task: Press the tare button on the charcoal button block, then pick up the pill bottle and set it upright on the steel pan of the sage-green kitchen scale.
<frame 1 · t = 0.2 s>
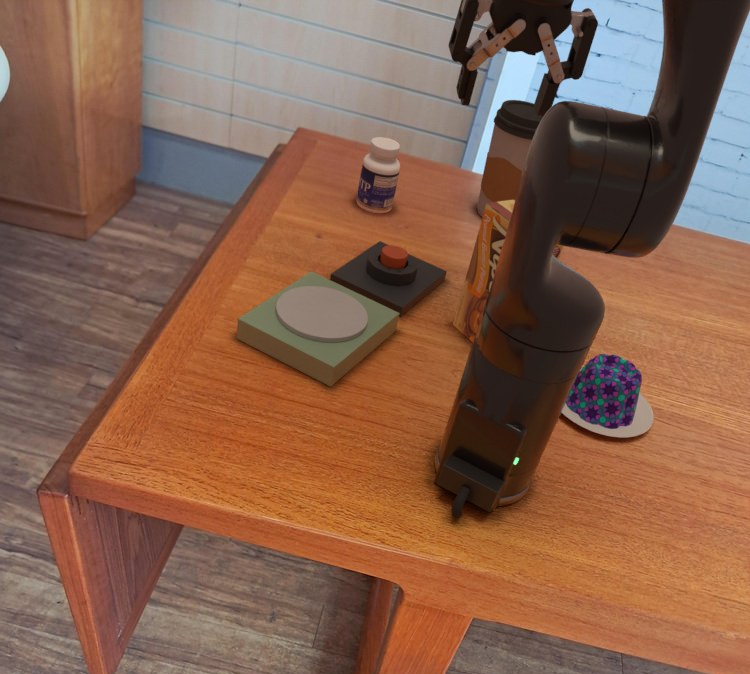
hand: (501, 107, 86), 21 cm above the table, tool pointing down, fingers open, 8 cm apart
pill bottle: (373, 207, 112), on the table
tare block: (388, 282, 97), on the table
scale: (318, 335, 86), on the table
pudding: (597, 407, 87), on the table
coffee cup: (496, 216, 117), on the table
tare button: (393, 257, 95), point 3 cm above the table, slide at 0.1 cm
candy box: (485, 344, 92), on the table
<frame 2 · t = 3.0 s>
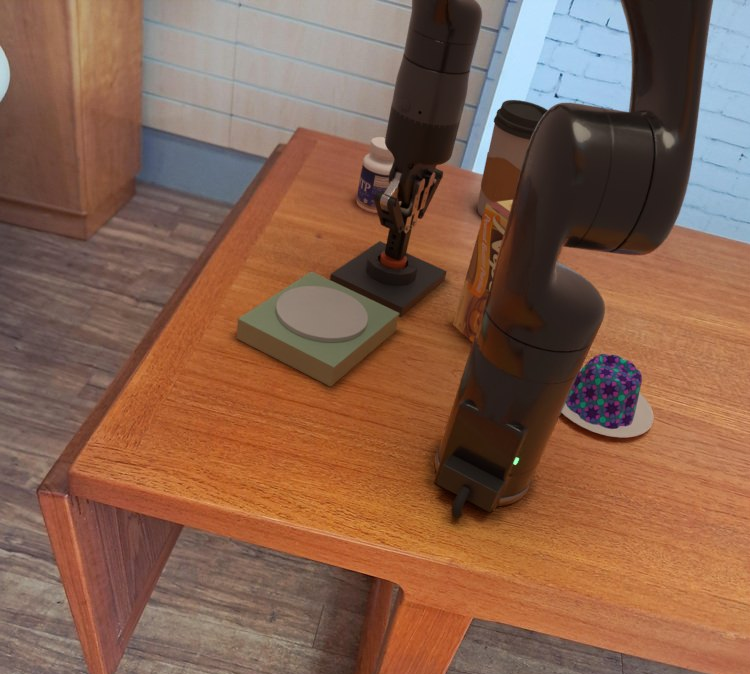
hand: (394, 255, 95), 4 cm above the table, tool pointing down, fingers closed
tare button: (392, 262, 95), point 3 cm above the table, slide at -0.5 cm, touching gripper
everything else where it was.
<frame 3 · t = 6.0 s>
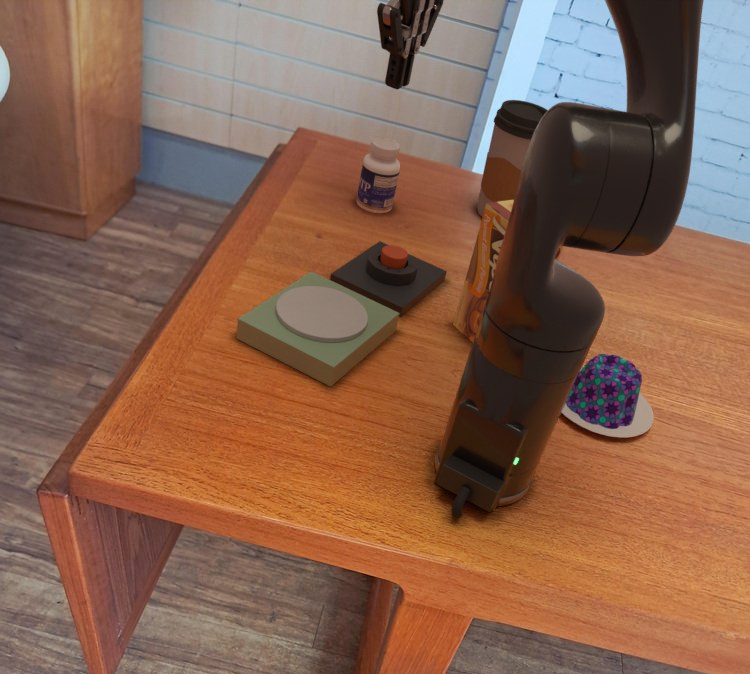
hand: (396, 85, 100), 16 cm above the table, tool pointing down, fingers closed
tare button: (393, 257, 95), point 3 cm above the table, slide at 0.1 cm
everything else where it was.
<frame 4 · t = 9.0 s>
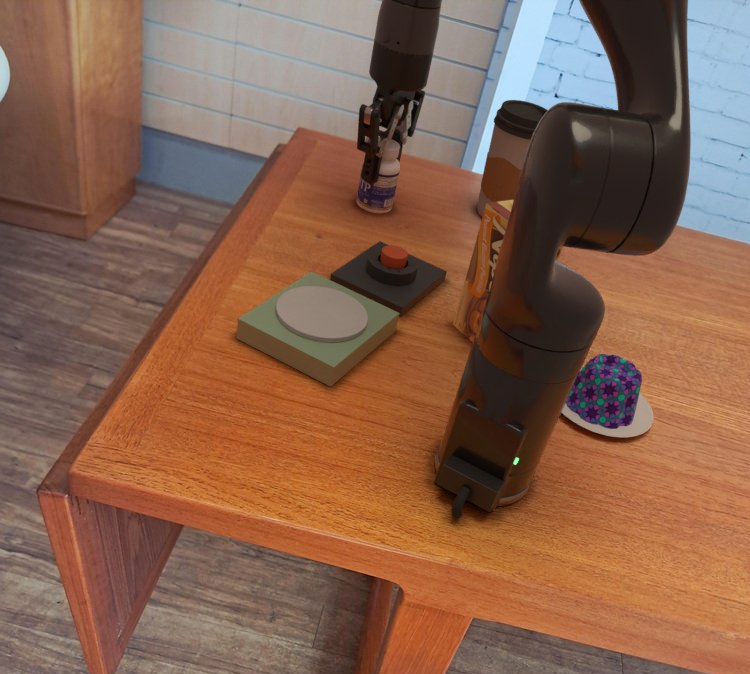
hand: (379, 174, 108), 4 cm above the table, tool pointing down, fingers closed on pill bottle, 5 cm apart
pill bottle: (373, 207, 112), on the table, touching gripper
everything else where it was.
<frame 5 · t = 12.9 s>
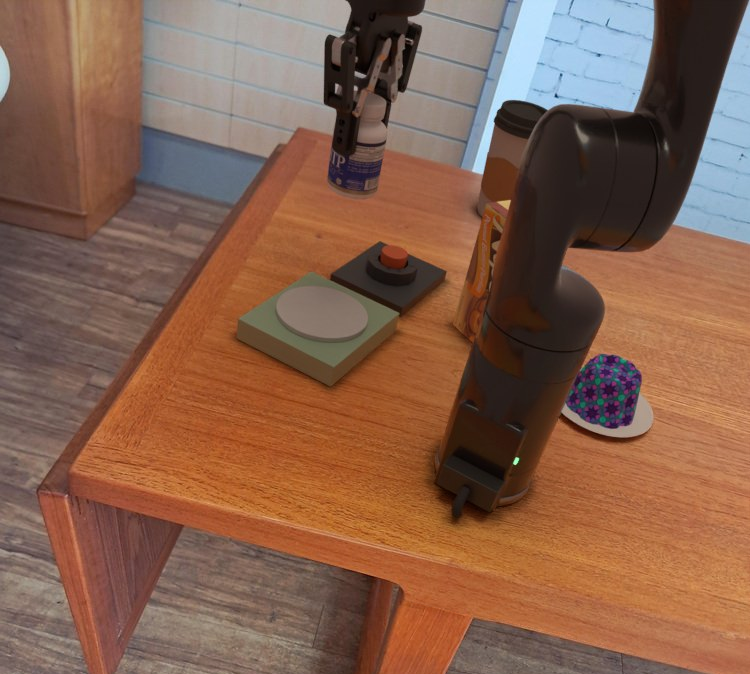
hand: (359, 145, 77), 19 cm above the table, tool pointing down, fingers closed on pill bottle, 5 cm apart
pill bottle: (351, 191, 80), point 14 cm above the table, touching gripper
everything else where it was.
when the fingers open (8 cm above the table, at t = 17.3 s): pill bottle stays where it is, resting on scale.
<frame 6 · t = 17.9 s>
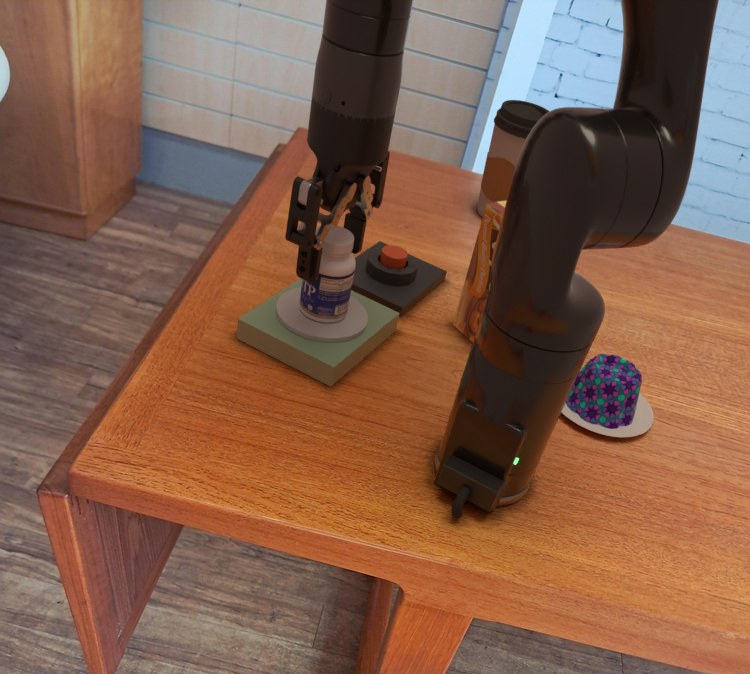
hand: (329, 264, 80), 9 cm above the table, tool pointing down, fingers open, 8 cm apart
pill bottle: (322, 311, 84), point 3 cm above the table, touching scale
everything else where it was.
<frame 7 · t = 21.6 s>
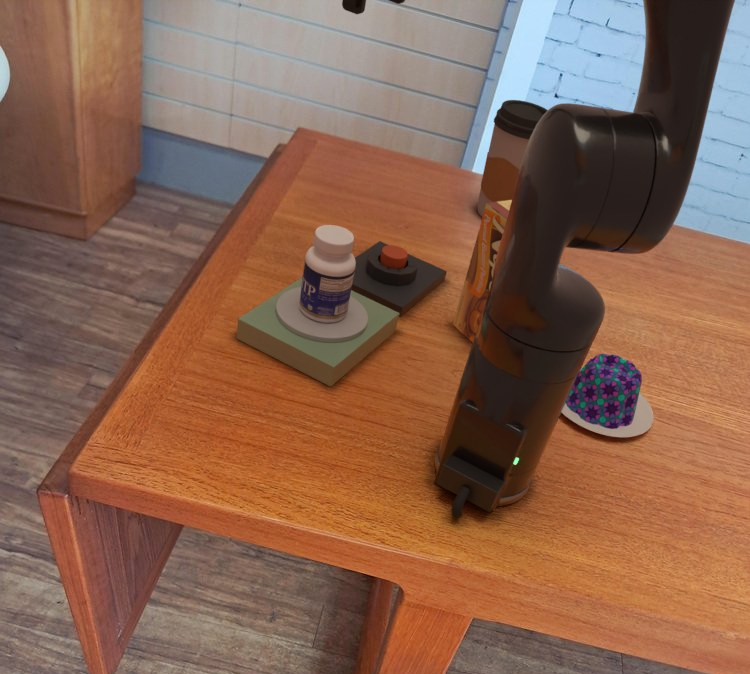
hand: (374, 6, 80), 28 cm above the table, tool pointing down, fingers open, 8 cm apart
nothing on the table moved.
at the end: tare button pushed in 0.9 cm at the most during the clip, back to where it started at the end; pill bottle inside the target area on the scale (0.1 cm from its centre), point 2.9 cm above the scale's base; pill bottle tilted 0° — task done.
